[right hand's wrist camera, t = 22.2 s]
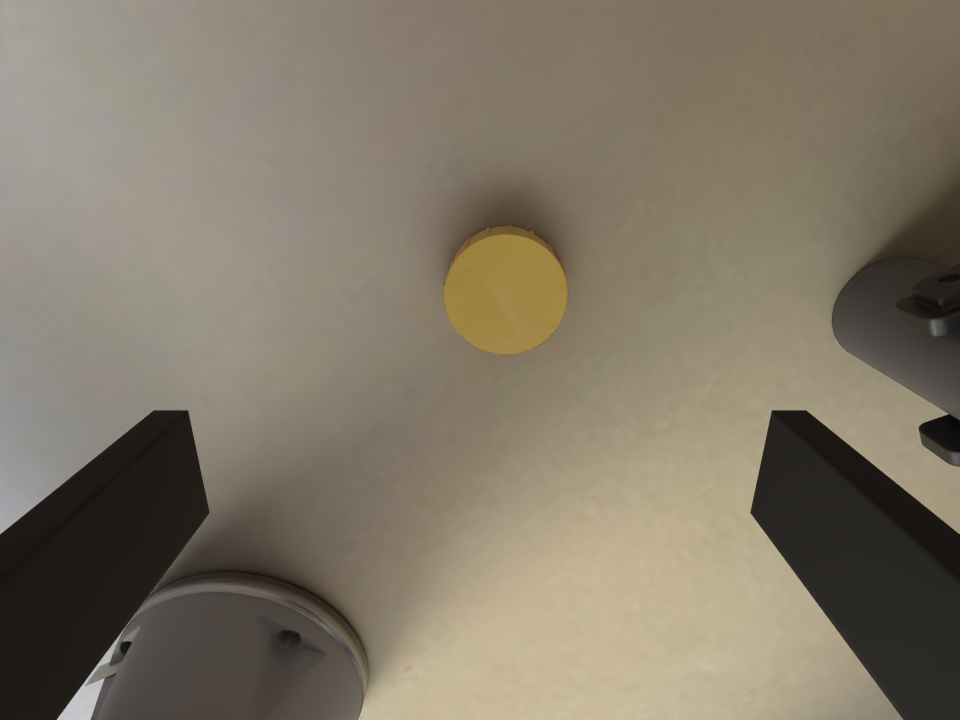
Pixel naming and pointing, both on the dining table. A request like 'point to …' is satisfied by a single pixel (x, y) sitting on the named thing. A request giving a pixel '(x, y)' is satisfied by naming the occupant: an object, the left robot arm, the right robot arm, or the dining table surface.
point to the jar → (898, 332)
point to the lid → (505, 290)
